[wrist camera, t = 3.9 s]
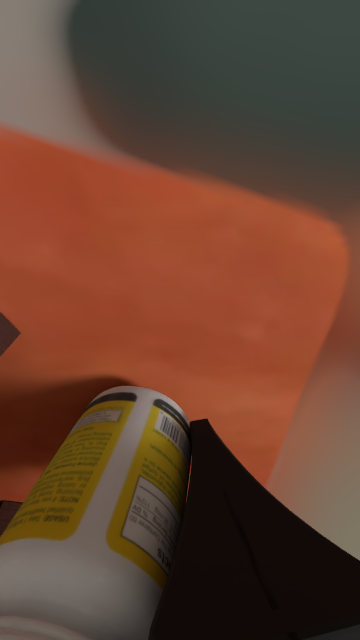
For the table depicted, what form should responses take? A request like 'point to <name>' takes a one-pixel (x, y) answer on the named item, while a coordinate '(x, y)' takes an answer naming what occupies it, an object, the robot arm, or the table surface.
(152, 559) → the supplement bottle
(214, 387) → the table surface
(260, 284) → the table surface
